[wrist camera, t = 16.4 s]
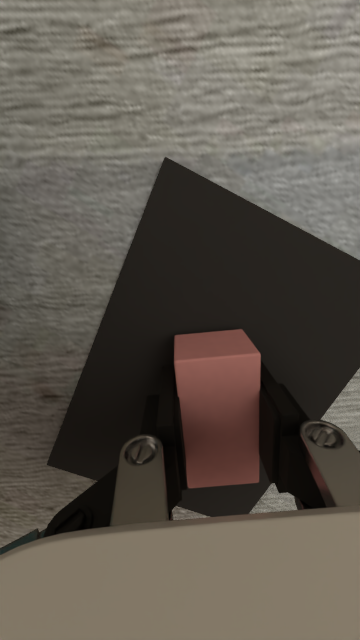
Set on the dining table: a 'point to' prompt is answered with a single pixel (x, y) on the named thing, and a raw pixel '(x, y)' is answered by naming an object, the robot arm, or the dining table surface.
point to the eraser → (219, 406)
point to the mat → (212, 320)
